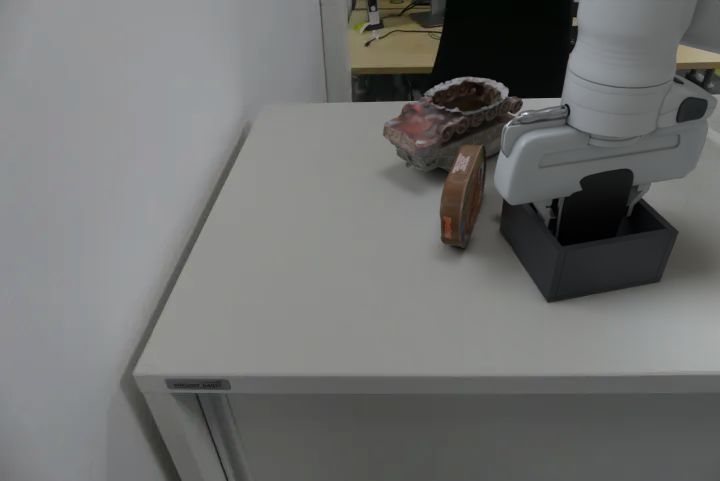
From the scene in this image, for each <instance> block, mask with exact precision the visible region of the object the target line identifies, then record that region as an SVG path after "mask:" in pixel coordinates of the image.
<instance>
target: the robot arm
mask: <svg viewBox="0 0 720 481" xmlns="http://www.w3.org/2000/svg"><path fill="white" fill-rule="evenodd" d="M576 11H577V13H576V23H577V37H576V40H575V44H574V47H573V49H572V51H571V52H570V54H569V57H568V60H567V64H566V71H565V76H564V83H563V86H562V93H561V98H560V104H559V105H556V106H549V107H544V108H540V109H535V110H534V109H527V110H523V111H519V112H518V115H517V116H515V118H513V119H511V120H510V121H509V122H508V123H507V124H505V126H504V127H503V130H502V137H501V150H500V151H499V152H498V157H497V161H496V165H495V171H494V175H493V184H494V186H495V189H496V191H497V192H498V193H499V195H500V196H501V197H502V198H503V199H505V200H506V201H507V202H508V203H509V204H511V205H519V204H525V203H531V202H533V204H534V206H535V208H536V210H537V215H538V216H539V218H540V219H541V220H542V221H543V223H544V224H545V225H546V227H547V228H548V229H549V230H551V229H555V228H556V223H557V221H558V216H557V215H556V214H555V213H553V210H552V209H551V208H546V206H551V204H552V199H556V198H562V197H568V196H570V195H571V194H572V193H574V192H577V191H581V190H582V188H581V186H580V183H579V182H580V180H581V179H582V178H584V177H585V176H588V175H591V174H596V173H600V172H604V171H610V170H616V169H630V170H631V171H632V172H633V175H634V179H633V185H632V188H631V192H630V196H629V199H628V202H627V206H626V209H625V211H624V214H623V217H628V216H630V215H631V213H632V210H633V207H634V204H636V203H637V202H638V201H639V200H640V199H641V198H643V197H644V196H645V195H646V194H647V193H648V192H649V191H650V188H651V185H652V184H654V183H662V182H667V181H673V180H674V181H675V180H678V179H679V180H680V179H684V178H685V177H687V176H688V175H689V174H690V173H691V172H692V171H693V170H694V169H695V168H696V166H697V165H698V163H699V161H700V158H701V156H702V153H703V150H704V147H705V143H706V141H707V136H708V132H709V122H708V120H707V119H709V118H711V117H712V115H713V114H714V112H715V110H716V108H717V105H718V99H717V97H715V96H714V95H713V94H711V93H710V92H708V91H707V90H706V89H704V88H703V87H701V86H700V85H698V84H696V83H694V82H692V81H690V80H688V79H687V78H685V77H683V76H681V75H679V74H676V73H677V55H678V48H679V45H681V46H684V47H689V48H693V49H696V50H699V51H700V50H701V51H703V52H704V51H705V52H709V53H713V54H718V55H720V0H578V6H577V10H576ZM517 121H519V122H517Z"/></svg>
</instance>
